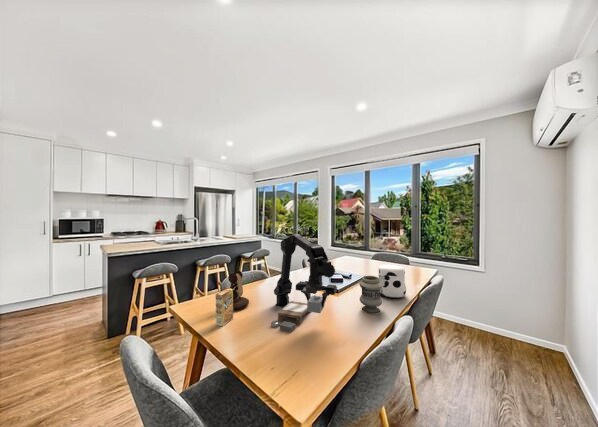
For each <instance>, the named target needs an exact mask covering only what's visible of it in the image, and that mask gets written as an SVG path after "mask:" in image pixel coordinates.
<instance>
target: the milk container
mask: <svg viewBox="0 0 598 427" xmlns="http://www.w3.org/2000/svg"><path fill="white" fill-rule="evenodd" d="M405 273H406V272H405V267H404V266H400V265H395V264H382V265H379V266H378V278H379V282H381V284H382V288H381V289H380V296H383V297H385V298H392V299H401V298H404V297H405V296H406V295H407V286H406V282H405V281H406V280H405V279H406V277H405Z"/></svg>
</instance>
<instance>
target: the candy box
mask: <svg viewBox="0 0 598 427" xmlns="http://www.w3.org/2000/svg"><path fill="white" fill-rule="evenodd" d="M233 290H234V289H230V288H225V289H223V290H221V291H219V292H217V293H215V322H216V323H215V326H219V327H224V326H226V325H227V324H228V323H229V322H231V321H232V320H233V319H234V309H233Z"/></svg>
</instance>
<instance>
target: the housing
mask: <svg viewBox="0 0 598 427" xmlns="http://www.w3.org/2000/svg"><path fill="white" fill-rule="evenodd" d="M306 301H307V300H306ZM306 303H307V312H306V313H308V312H310V313H314V314H316V313H317V314H321V313H322V311H323V310H324V308H325V306H324V307H322V296H321V295H320V294H313V295H311V298H310V299H309V300H308V301H307V302H306Z"/></svg>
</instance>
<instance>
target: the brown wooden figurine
mask: <svg viewBox="0 0 598 427" xmlns="http://www.w3.org/2000/svg"><path fill="white" fill-rule="evenodd" d="M227 278H228V282H230V286H229V289H233V310H237V309H238V310H239V311H241V310H242V308H245V307H246V306H249V304H250V300H249V299H248V298H246V297H244V296H243V293H244V288H243V282H242V278H243V272H242V271H240V270H238V269H237V270H236V271H234V272H233V273H229V275H228V277H227Z"/></svg>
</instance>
